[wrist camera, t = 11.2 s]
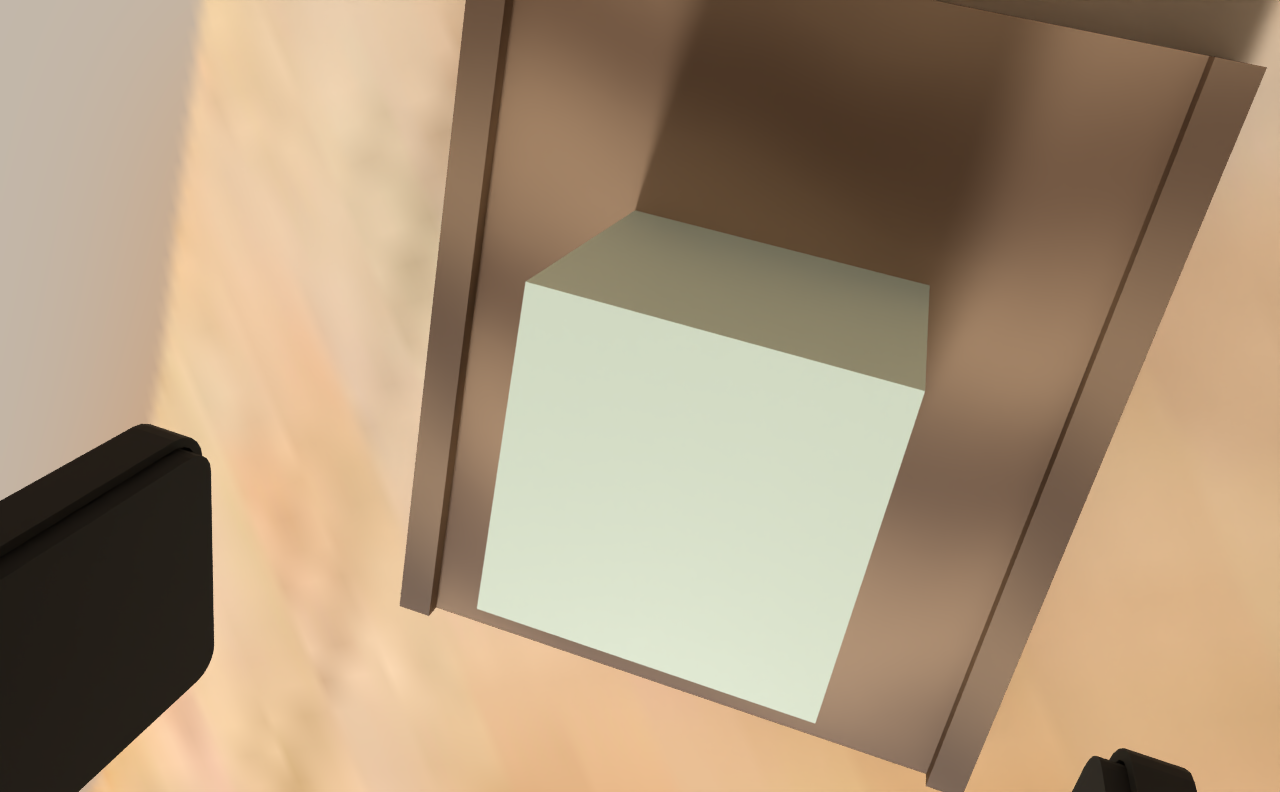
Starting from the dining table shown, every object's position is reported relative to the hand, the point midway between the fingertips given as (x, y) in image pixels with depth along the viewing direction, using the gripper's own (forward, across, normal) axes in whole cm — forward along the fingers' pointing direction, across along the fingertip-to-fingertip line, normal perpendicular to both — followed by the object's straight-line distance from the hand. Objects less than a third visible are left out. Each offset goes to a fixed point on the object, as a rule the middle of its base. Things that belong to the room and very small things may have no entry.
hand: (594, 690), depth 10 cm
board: (+13, 0, +2) cm, 13 cm away
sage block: (+12, 0, +1) cm, 12 cm away
